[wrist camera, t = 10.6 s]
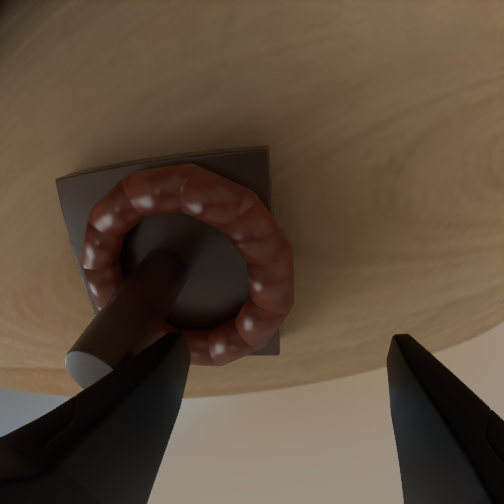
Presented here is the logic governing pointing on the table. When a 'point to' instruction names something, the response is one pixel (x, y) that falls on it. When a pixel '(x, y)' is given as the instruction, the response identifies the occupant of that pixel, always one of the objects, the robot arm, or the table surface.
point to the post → (162, 263)
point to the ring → (215, 214)
